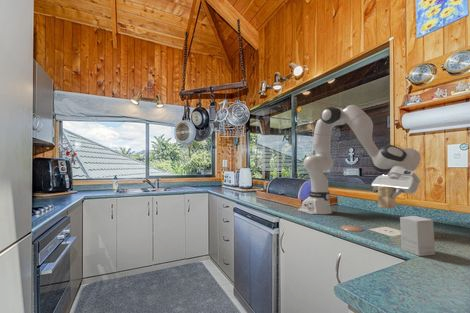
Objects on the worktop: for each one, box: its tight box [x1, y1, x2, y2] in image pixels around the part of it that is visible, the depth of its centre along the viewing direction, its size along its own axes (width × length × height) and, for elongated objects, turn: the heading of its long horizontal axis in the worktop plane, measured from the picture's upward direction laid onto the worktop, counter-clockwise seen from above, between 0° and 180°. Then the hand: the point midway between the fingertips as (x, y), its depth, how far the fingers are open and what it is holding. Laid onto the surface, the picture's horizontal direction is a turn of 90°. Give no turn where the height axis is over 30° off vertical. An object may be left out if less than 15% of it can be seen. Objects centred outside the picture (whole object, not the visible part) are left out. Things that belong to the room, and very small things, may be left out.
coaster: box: [340, 224, 364, 233], centre depth 117 cm, size 10×10×1 cm
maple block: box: [377, 186, 397, 209], centre depth 112 cm, size 5×5×10 cm
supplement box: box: [399, 215, 436, 257], centre depth 87 cm, size 7×7×13 cm
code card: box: [368, 226, 401, 237], centre depth 111 cm, size 12×12×1 cm
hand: (385, 196), depth 112 cm, fingers closed on maple block, 5 cm apart
